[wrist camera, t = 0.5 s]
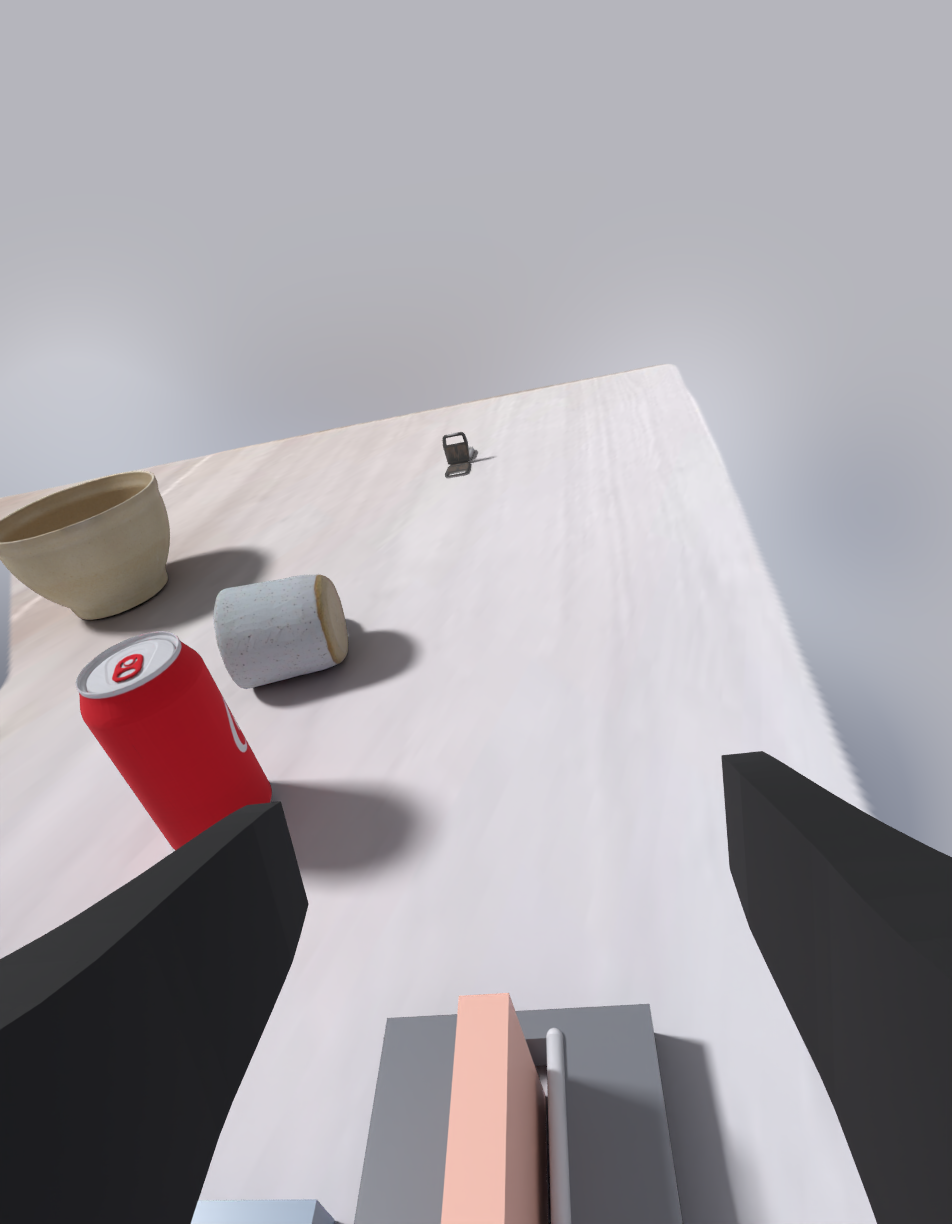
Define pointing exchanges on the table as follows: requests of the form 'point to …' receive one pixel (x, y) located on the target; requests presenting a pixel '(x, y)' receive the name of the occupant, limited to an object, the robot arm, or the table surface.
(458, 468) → the strap clip
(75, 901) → the table surface
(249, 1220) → the tray
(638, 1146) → the slotted grey platform
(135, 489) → the planter bowl
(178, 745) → the beverage can
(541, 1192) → the pink block
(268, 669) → the ceramic mug
